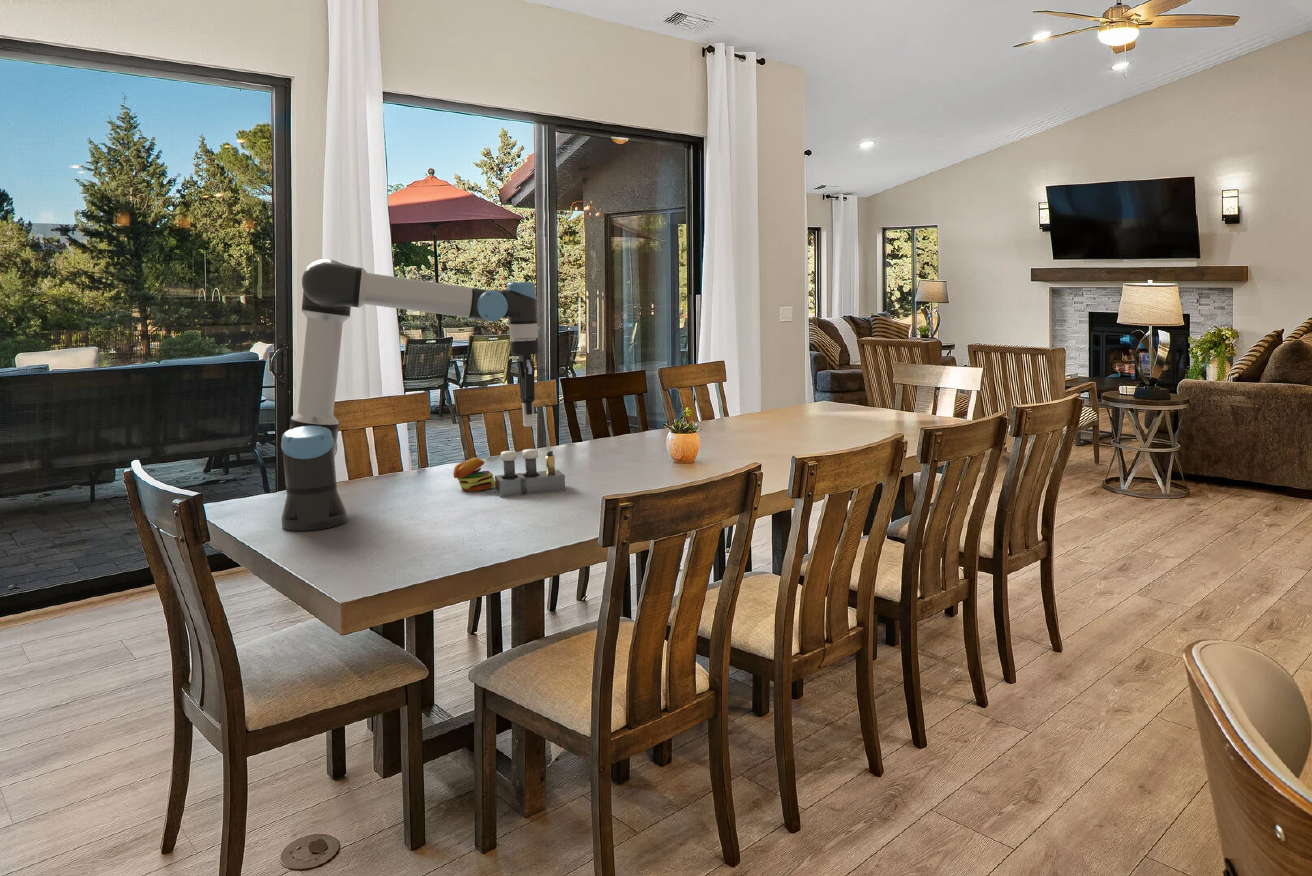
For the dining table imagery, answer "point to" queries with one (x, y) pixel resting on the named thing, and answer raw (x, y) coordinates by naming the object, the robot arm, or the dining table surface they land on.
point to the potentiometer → (550, 463)
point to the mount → (529, 484)
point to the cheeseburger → (473, 476)
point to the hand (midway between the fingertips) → (528, 425)
